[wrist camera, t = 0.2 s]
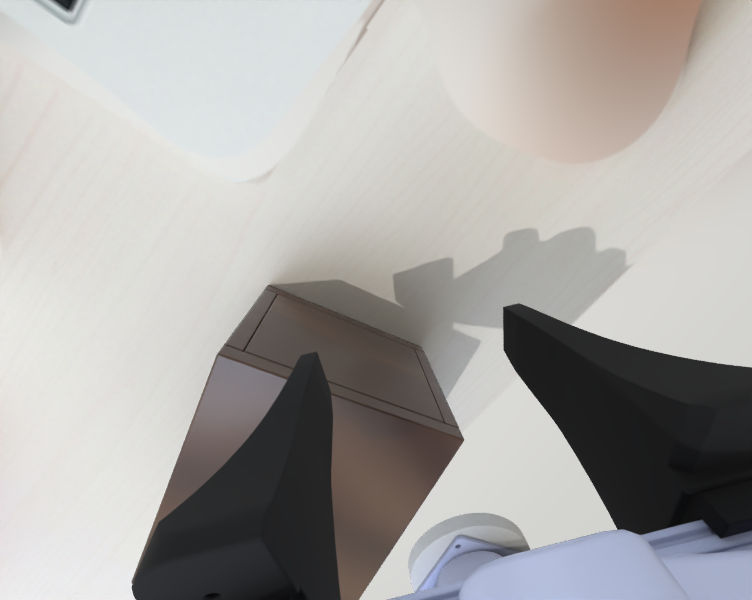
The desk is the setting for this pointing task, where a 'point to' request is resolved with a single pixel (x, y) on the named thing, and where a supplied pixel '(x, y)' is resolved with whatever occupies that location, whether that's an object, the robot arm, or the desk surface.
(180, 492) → the cabinet
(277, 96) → the desk surface
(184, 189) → the desk surface
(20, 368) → the desk surface
